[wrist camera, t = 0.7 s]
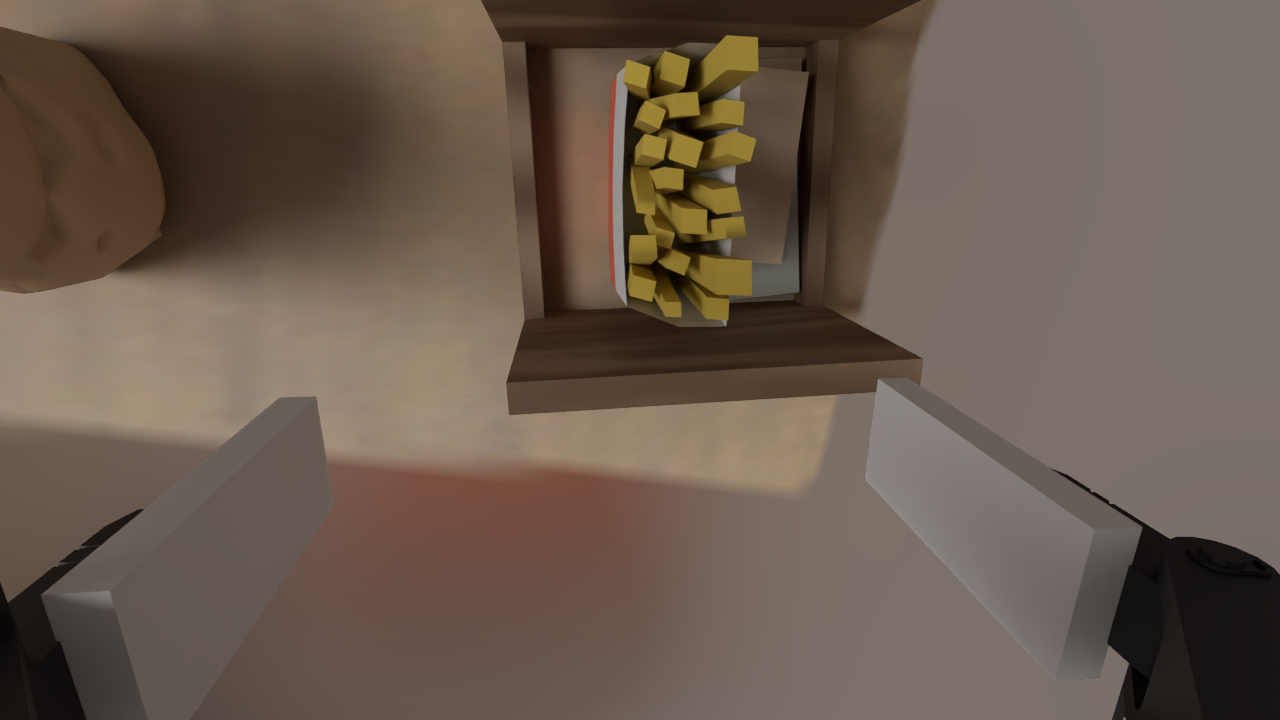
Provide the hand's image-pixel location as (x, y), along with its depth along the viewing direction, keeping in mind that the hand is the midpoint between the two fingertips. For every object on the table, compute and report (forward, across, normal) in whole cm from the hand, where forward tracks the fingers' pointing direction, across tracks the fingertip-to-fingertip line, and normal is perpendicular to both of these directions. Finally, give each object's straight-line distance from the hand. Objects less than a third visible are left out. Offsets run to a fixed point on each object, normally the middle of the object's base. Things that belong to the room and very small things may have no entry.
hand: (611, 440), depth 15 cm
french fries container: (+27, +4, +5) cm, 27 cm away
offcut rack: (+27, +6, +5) cm, 28 cm away
